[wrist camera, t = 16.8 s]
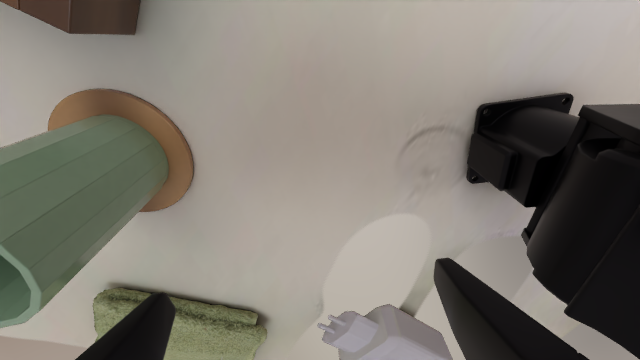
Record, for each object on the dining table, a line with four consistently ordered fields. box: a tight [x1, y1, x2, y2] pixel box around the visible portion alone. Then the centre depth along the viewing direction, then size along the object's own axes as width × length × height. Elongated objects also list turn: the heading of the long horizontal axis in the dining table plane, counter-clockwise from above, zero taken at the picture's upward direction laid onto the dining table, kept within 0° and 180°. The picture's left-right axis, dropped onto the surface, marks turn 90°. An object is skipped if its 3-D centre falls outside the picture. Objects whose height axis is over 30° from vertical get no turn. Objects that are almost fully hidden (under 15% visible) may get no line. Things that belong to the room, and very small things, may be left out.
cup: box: [0, 114, 169, 328], centre depth 15 cm, size 7×7×11 cm
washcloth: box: [93, 288, 267, 360], centre depth 29 cm, size 13×18×3 cm
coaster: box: [48, 89, 193, 212], centre depth 20 cm, size 10×10×1 cm
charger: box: [318, 304, 453, 360], centre depth 29 cm, size 5×9×15 cm
